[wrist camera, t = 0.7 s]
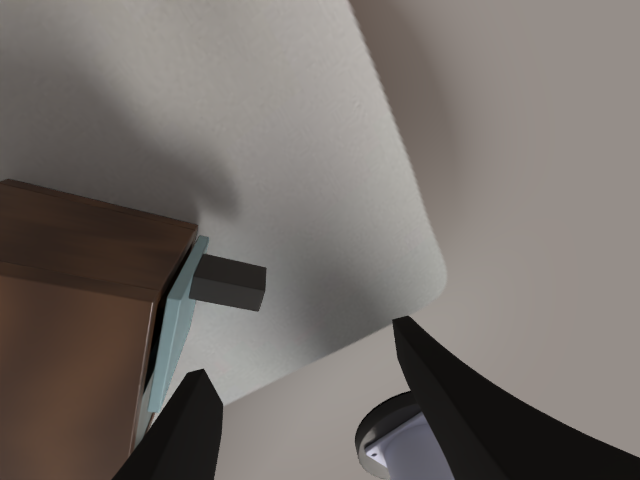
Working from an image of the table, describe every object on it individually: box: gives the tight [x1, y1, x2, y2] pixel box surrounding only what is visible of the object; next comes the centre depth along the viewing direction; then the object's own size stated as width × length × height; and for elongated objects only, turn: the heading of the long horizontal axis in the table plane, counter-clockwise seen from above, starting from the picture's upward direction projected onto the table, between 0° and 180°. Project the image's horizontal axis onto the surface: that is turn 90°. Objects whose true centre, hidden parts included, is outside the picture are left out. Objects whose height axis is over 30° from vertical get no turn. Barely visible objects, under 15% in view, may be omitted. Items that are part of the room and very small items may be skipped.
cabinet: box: [0, 179, 198, 480], centre depth 17 cm, size 10×14×8 cm
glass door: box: [147, 236, 266, 413], centre depth 18 cm, size 4×7×6 cm, turn 161°
